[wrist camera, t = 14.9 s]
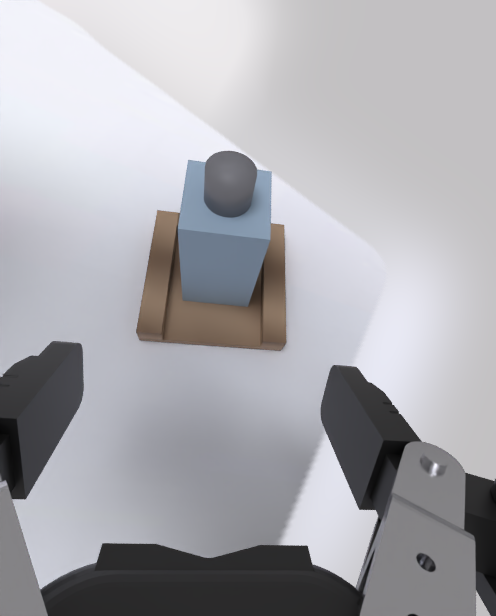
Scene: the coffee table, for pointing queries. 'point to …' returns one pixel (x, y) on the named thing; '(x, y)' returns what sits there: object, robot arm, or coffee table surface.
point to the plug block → (223, 228)
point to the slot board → (207, 316)
